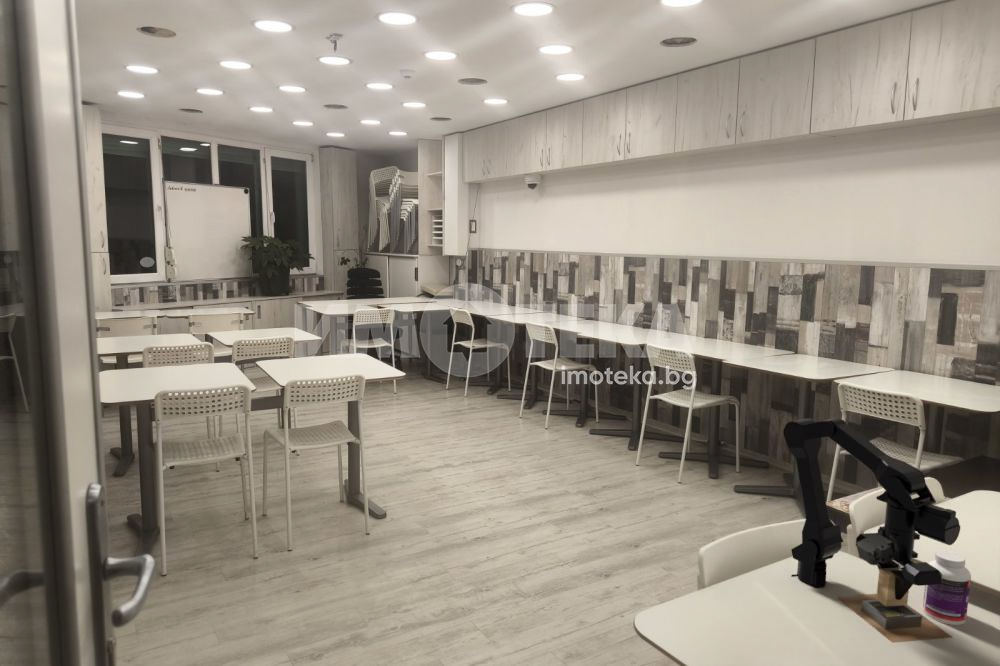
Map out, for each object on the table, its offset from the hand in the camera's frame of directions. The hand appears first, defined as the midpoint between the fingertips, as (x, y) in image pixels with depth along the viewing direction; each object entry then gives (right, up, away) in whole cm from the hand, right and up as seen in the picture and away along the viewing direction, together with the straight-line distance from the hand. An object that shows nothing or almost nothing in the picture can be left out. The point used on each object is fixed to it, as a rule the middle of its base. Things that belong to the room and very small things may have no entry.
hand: (892, 595), depth 148 cm
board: (+1, -6, +2) cm, 6 cm away
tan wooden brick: (0, -2, 0) cm, 2 cm away
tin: (0, -5, +1) cm, 5 cm away
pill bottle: (+13, -6, +3) cm, 14 cm away
